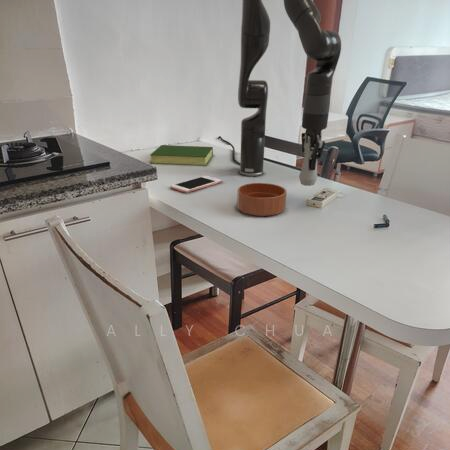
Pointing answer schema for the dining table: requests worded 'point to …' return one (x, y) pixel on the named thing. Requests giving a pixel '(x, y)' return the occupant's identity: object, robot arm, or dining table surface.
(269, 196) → the bowl
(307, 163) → the salt shaker
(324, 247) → the dining table surface
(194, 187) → the cell phone
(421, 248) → the dining table surface
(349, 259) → the dining table surface
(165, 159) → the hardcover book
